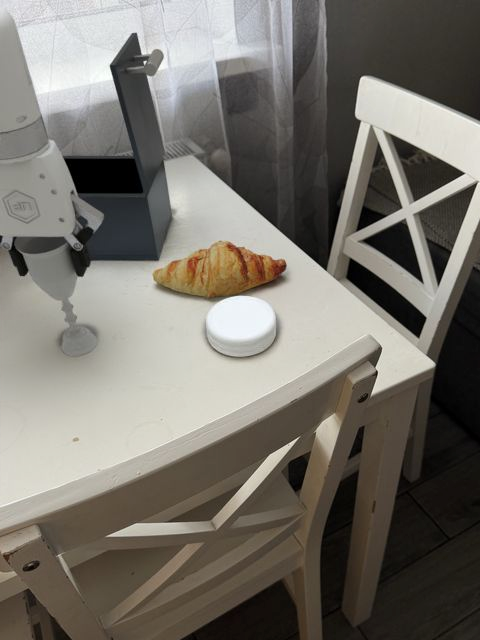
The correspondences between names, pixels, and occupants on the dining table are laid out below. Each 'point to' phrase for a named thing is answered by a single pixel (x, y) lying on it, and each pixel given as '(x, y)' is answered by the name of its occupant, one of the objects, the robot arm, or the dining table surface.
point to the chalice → (57, 284)
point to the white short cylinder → (241, 326)
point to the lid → (139, 106)
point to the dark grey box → (122, 207)
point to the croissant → (219, 271)
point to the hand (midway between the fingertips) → (54, 269)
